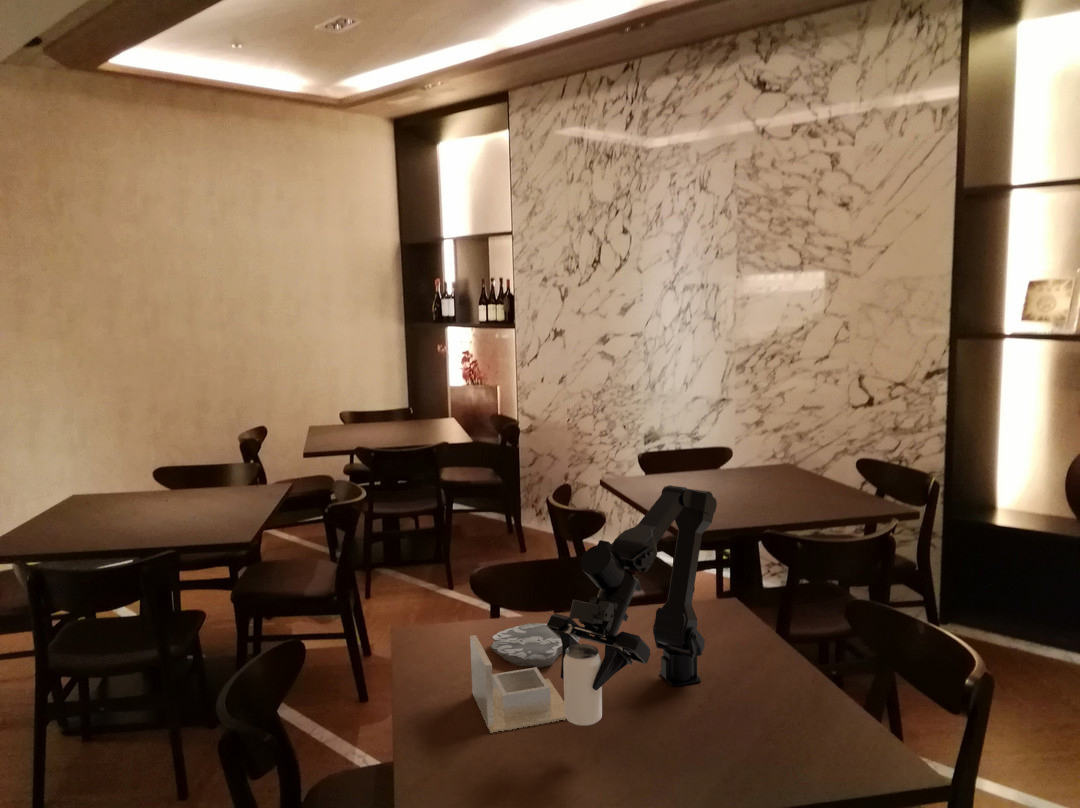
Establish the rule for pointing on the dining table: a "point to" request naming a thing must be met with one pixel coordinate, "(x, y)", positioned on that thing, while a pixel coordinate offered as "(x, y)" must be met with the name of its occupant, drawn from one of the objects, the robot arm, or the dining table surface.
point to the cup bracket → (512, 694)
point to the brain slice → (528, 645)
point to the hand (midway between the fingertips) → (578, 684)
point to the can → (582, 685)
